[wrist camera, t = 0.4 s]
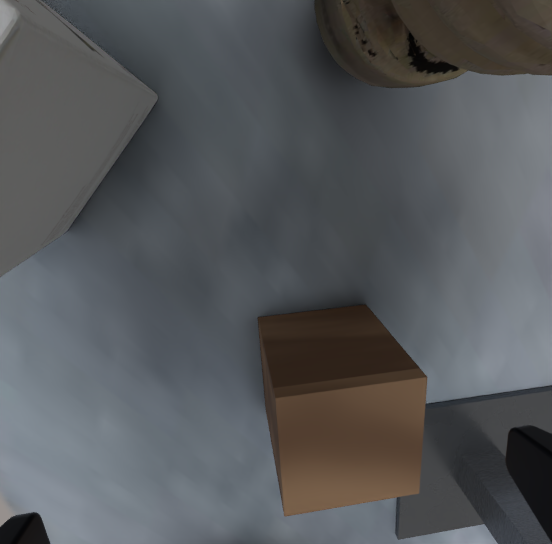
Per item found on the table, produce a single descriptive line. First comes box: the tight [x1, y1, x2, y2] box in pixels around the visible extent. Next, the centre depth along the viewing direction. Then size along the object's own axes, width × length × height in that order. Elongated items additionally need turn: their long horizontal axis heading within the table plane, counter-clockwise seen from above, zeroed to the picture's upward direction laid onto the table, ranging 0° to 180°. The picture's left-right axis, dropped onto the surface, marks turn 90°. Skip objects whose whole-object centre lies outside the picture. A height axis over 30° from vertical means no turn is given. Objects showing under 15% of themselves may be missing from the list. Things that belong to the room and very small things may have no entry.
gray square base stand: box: [396, 386, 552, 544], centre depth 23 cm, size 10×10×7 cm
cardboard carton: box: [258, 305, 427, 516], centre depth 19 cm, size 6×6×7 cm
